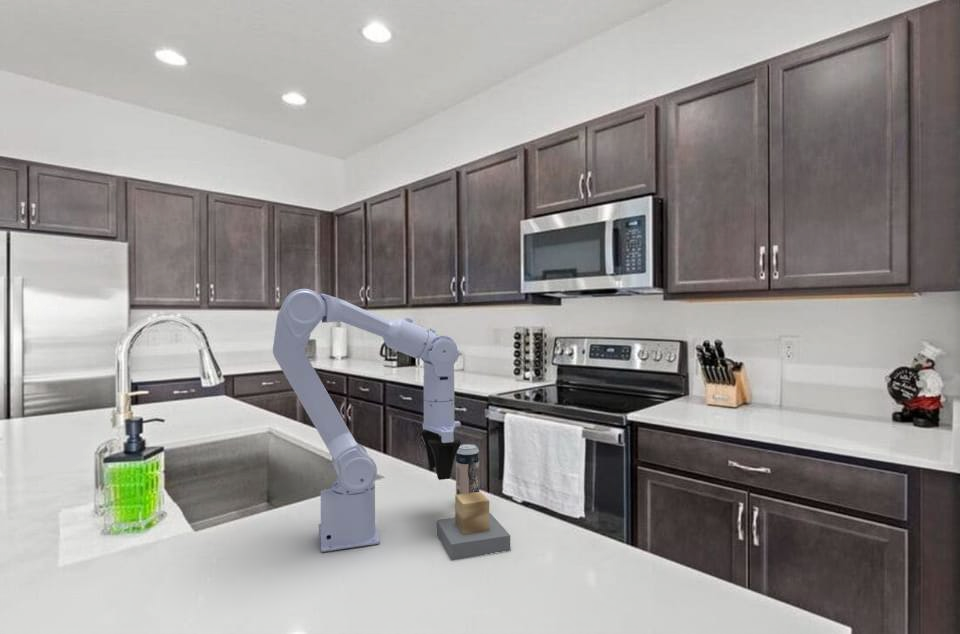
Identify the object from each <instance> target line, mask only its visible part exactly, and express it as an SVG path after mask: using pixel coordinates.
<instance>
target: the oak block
mask: <svg viewBox="0 0 960 634" xmlns="http://www.w3.org/2000/svg"><path fill="white" fill-rule="evenodd" d="M454 496H455V500H454V501H455V503H454V505H455V506H454V507H455V511H454V513H455V514H454V517H455V524H456V525H457V527H458V528H459V530H460V531H461V532H462V534H463V535H464V534H471V533H478V532H484V531H489V513H490V500H489V499H488V498H487V497H486V496H485V495H484V494H483V493H482V491H479V492H475V493H466V494H458V495H456V494H455V495H454Z"/></svg>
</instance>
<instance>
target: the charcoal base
mask: <svg viewBox="0 0 960 634" xmlns="http://www.w3.org/2000/svg"><path fill="white" fill-rule="evenodd" d="M436 536H437V537H438V539H439V541H440V543H441V545H442V547H443V548H444V550H445V552H446V554H447V555H448V557H449V559H450V560H451V561H457V560H462V559H463V560H464V559H468V558H475V557H482V556H486V555H485V554H488V555H491V554H490V553H494V554H496V553H495V552H500V553H503V552H502V551H506V552H510V551H511V535H510V533H509V532H508V531H507V530H506V529H505V528H504V526H502V524H501V523H500V522H499V521H498V520H497V519H496V518H495V517H494V515H493V514H492V513H491V512H489V531H484V532H478V533H471V534H464V535H463V534H462V532H461V531H460V530H459V528H458V527H457V525H456V524H455V516H454V517H446V518H439V519H436ZM509 550H510V551H509ZM481 555H482V556H481Z"/></svg>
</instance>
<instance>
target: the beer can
mask: <svg viewBox="0 0 960 634" xmlns="http://www.w3.org/2000/svg"><path fill="white" fill-rule="evenodd" d="M475 492H480V450H479V448H478V446H477V445H476V444H472V443H471V444H470V443H465V444H461V445H460V447H459V449H458V451H457V453H456V455H455V495H458V494H466V493H475Z"/></svg>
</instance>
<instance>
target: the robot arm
mask: <svg viewBox="0 0 960 634" xmlns="http://www.w3.org/2000/svg"><path fill="white" fill-rule="evenodd" d="M320 322H321V323H327V324H328V323H337V322H338V323H339V322H340V323H343V324H346V325H350V326H352V327H355V328H358V329H360V330H362V331H364V332H365V331H366V332H368V333H371V334H374V335H376V336H379V337H382V339H383V341H384V343H385V346H386V347H387V348H389V349H392V350H394V351H396V352H399V353H402V354H404V355H407V356H408V357H409V356H410V357H412V358H414V359H417V360H421V361H422V362H423V422H422V429H420V430H419V434H420V435H421V439H422V441H423V444H424V447H425V451H426V456H427V457H426V458H427V463H428V466H429V468H435V472H436V477H437V480H439V481H440V480H441V481H443V480H449V479H451V475H452V471H453V466H454V461H455V459H456V453H457V451H458V449H459V447H460V445H462V441H461V440H460V439H455V438H454V437H455V435H454V431H455V429H456V428H457V427H461V425H462V424H461V422H460V421H459V420H455V364H456V362H457V361H458V359H459V356H460V350H458V346H457V344H456V342H454V339H453V338H451V337H450V336H447V335H439V334H437V333H436V332H437V330H436V329H434V328H429V329H427V328H425V327H423V326H420V325H418V324H416V323H413V322H414V319H413V318H411V317H404V318H402V317H397V318H395V319H392V320H388V319H386V318H383V317H382V316H379V315H376V314H374V313H372V312H370V311H368V310H366V309H364V308H361V307H359V306H356V305H355V304H352V303H351V302H349V301H347V300H344V299H341V298H338V297H335V296H332V295H328V294H325V293H320V294H319V293H317V291H314V290H311V289H308V288H300V289H296V290H294V291H291V293H289V294H288V295H287V297H286V298H285V299H284V300H283V302H282V305H281V307H280V308H279V310H278V312H277V315H276V321H275V330H274V338H273V345H272V354H273V357H274V359H275V360H276V362H277V364H278V366H279V368H280V369H281V371H282V372H283V375H284V376H285V378H286V379H287V380H288V381H287V382H288V384H290V387H291V388H292V390H293V391H294V394H295V395H296V397H297V398H298V400H299V401H300V403H301V405H302V407H303V409H304V410H305V412H306V414H307V415H308V417H309V419H310V421H311V422H312V424H313V426H314V428H315V430H316V431H317V432H318V434H319V436H320V438H321V439H322V441H323V443H324V445H325V447H326V448H327V449H328V451H329V454H330V455H331V463H332V468H333V470H334V472H335V473H336V474H337V476H336V478H335V480H334V481H333V483H332V484H331V485H332V487H330V488H327V489H322V490H320V523H318V536H320V552H322V553H323V552H324V553H325V552H332V551H338V550H343V549H350V548H359V547H364V546H365V547H366V546H372V545H378V544H379V543H380V542H381V540H380V536H379V532H378V529H377V525H376V482H375V480H376V477H377V474H378V468H377V464H376V462H375V460H374V459H373V458H372V457H371V456H369V454H368V453H367V452H368V451H367V450H366V448H365V447H364V446H363V445H361V444H360V443H358V442H357V440H356V439H355V438H354V436H353V435H352V433H351V431H350V429H349V427H348V425H347V424H346V422H345V420H344V419H343V417H342V415H341V413H340V412H339V410H338V408H337V407H336V405H335V403H334V401H333V400H332V398H331V396H330V394H329V393H328V391H327V389H326V388H325V386H324V384H323V381H322V380H321V379H320V376H319V375H318V373H317V371H316V369H315V368H314V365H312V362H311V361H310V359H309V358H308V355H307V353H306V348H307V346H308V343H309V340H310V337H311V334H312V332H313V331H314V330H315V328H316V327H317V326H318V325H319V323H320Z"/></svg>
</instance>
